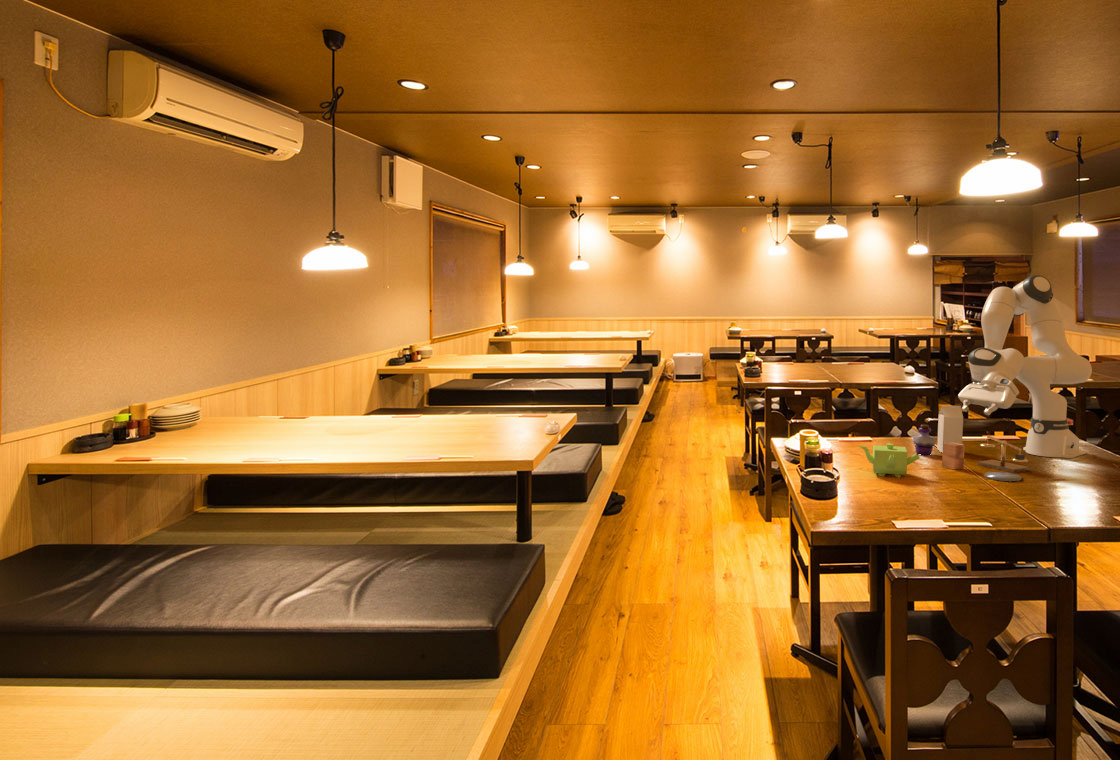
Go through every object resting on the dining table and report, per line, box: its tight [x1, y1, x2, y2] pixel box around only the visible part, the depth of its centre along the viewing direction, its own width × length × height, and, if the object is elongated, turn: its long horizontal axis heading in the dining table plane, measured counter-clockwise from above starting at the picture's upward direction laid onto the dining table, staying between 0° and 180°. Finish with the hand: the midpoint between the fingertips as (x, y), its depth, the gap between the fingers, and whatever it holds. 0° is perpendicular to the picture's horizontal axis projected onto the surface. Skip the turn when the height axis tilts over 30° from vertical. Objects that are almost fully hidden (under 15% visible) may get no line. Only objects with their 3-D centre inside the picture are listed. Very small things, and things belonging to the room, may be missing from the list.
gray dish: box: [984, 471, 1022, 483], centre depth 254 cm, size 11×11×1 cm
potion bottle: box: [912, 424, 937, 456], centre depth 292 cm, size 9×9×12 cm
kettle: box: [858, 442, 920, 478], centre depth 261 cm, size 15×14×11 cm
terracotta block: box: [941, 442, 965, 470], centre depth 269 cm, size 5×5×9 cm
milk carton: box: [936, 405, 964, 454], centre depth 295 cm, size 7×7×19 cm
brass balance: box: [977, 435, 1029, 473], centre depth 268 cm, size 8×18×11 cm, turn 23°
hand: (974, 412), depth 274 cm, fingers open, 8 cm apart
